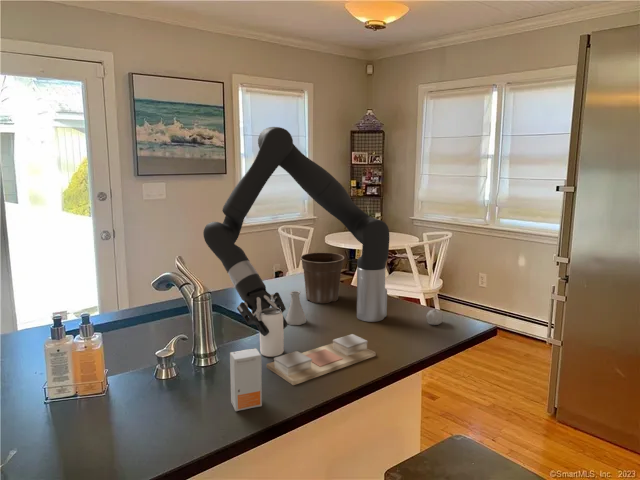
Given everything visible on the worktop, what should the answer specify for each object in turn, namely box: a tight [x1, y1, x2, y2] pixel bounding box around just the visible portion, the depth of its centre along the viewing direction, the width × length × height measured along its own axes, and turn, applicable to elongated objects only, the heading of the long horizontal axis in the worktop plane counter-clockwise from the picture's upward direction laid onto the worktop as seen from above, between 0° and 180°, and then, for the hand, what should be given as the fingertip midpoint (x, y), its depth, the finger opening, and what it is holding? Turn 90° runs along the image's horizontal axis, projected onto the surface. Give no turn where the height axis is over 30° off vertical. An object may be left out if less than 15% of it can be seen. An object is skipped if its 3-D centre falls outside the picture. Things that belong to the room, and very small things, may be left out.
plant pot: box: [300, 251, 345, 304], centre depth 178 cm, size 16×16×16 cm
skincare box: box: [229, 348, 263, 412], centre depth 104 cm, size 6×4×12 cm
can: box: [259, 307, 285, 358], centre depth 131 cm, size 6×6×12 cm
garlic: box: [425, 308, 444, 326], centre depth 153 cm, size 6×5×5 cm
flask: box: [285, 290, 307, 326], centre depth 155 cm, size 7×7×10 cm
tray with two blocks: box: [266, 333, 377, 386], centre depth 126 cm, size 27×12×4 cm, turn 128°
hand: (275, 330), depth 129 cm, fingers closed on can, 6 cm apart
